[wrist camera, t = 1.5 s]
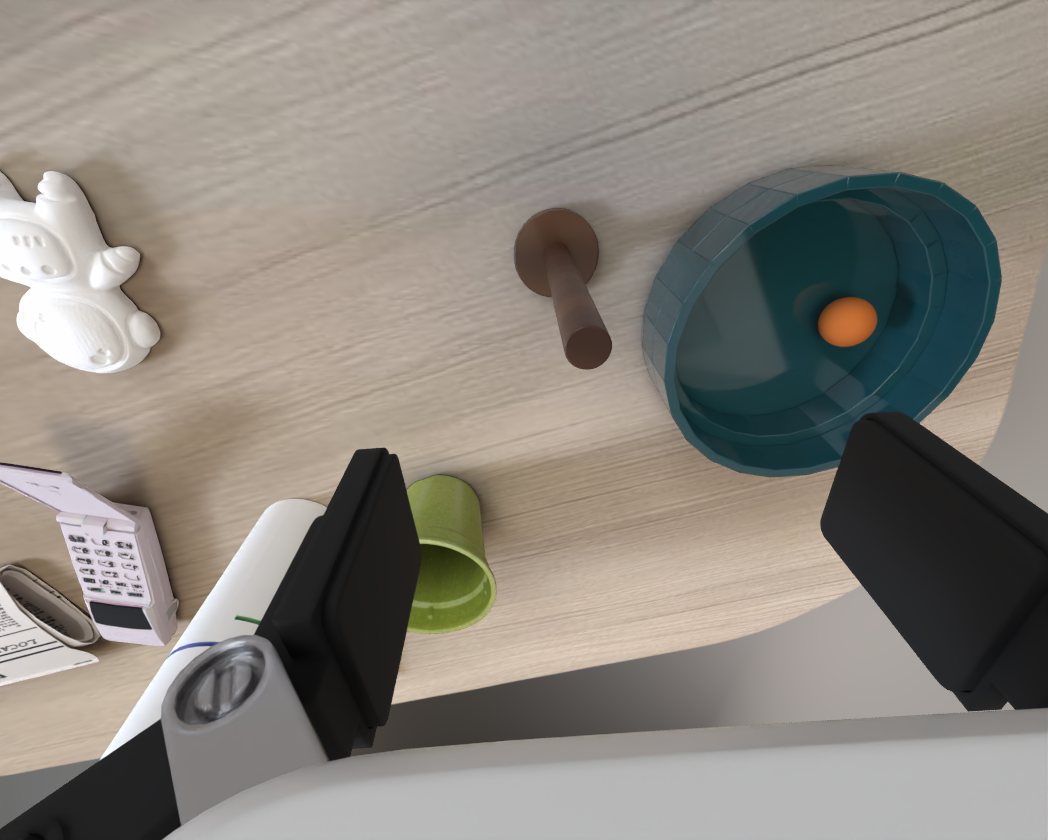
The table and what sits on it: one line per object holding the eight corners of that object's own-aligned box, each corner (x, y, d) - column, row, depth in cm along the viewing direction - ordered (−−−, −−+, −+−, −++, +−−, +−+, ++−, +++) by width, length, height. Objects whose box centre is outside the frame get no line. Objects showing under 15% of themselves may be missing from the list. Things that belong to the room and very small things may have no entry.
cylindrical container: (251, 497, 38) (-90, 968, 17) (341, 500, 38) (121, 966, 17) (271, 559, 42) (13, 1010, 20) (353, 561, 42) (185, 1008, 21)
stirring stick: (510, 211, 27) (507, 279, 15) (597, 204, 27) (669, 266, 15) (517, 297, 30) (520, 417, 17) (596, 290, 30) (657, 407, 17)
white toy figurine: (125, 180, 26) (83, 186, 23) (173, 374, 32) (143, 396, 30) (-50, 151, 25) (-114, 153, 23) (33, 356, 31) (-10, 376, 29)
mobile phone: (72, 476, 29) (150, 697, 42) (139, 426, 34) (191, 637, 47) (-35, 460, 29) (76, 690, 41) (49, 412, 34) (125, 629, 46)
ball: (814, 292, 29) (843, 307, 27) (863, 289, 29) (896, 303, 27) (803, 337, 31) (829, 356, 28) (849, 334, 31) (879, 352, 28)
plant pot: (479, 555, 42) (471, 646, 34) (372, 528, 40) (340, 619, 32) (516, 476, 37) (517, 561, 30) (398, 442, 35) (368, 524, 28)
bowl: (649, 178, 27) (681, 189, 21) (960, 153, 26) (1070, 157, 21) (634, 434, 35) (654, 485, 30) (866, 418, 35) (926, 467, 30)
